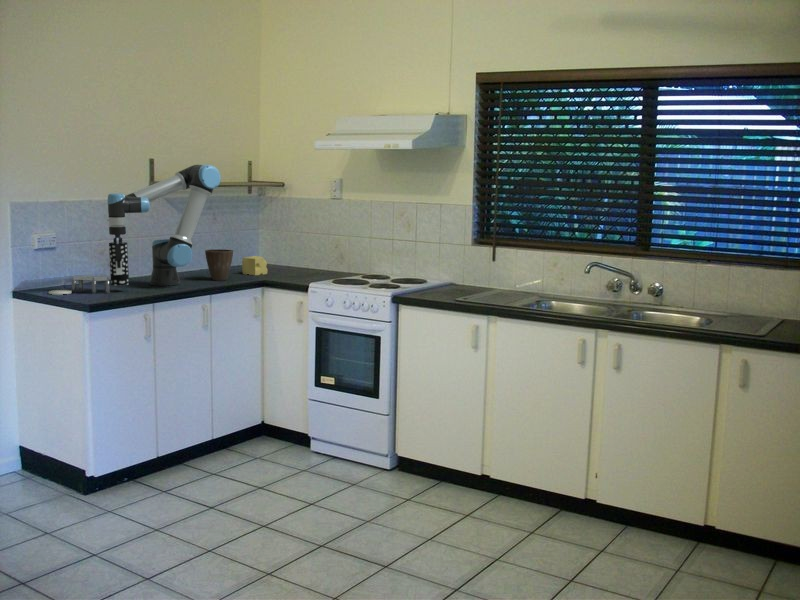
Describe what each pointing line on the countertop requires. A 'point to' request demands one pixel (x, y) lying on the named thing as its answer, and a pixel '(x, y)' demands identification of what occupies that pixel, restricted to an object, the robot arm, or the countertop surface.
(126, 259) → the spotted tube
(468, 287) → the countertop surface
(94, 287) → the small grey table
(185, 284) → the countertop surface
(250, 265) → the cheese
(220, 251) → the plant pot
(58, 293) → the coaster
